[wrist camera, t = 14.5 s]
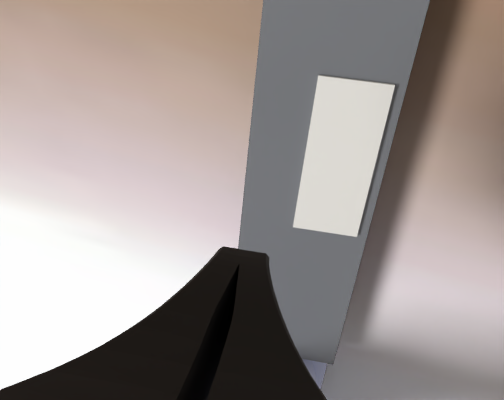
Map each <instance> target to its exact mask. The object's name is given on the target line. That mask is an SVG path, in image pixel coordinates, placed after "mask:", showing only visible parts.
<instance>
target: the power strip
mask: <svg viewBox="0 0 504 400" xmlns="http://www.w3.org/2000/svg"><path fill="white" fill-rule="evenodd" d="M429 2H430V0H263V9H262V19H261V29H260V39H259V49H258V58H257V68H256V78H255V88H254V98H253V108H252V118H251V127H250V137H249V147H248V157H247V167H246V177H245V187H244V196H243V206H242V216H241V226H240V236H239V246H238V249H242V250H248V251H254V252H261V253H266V254H267V255H268V256H269V267H270V274H271V279H272V284H273V288H274V292H275V295H276V298H277V302H278V305H279V308H280V311H281V314H282V316H283V319H284V321H285V324H286V326H287V329H288V331H289V334H290V336H291V338H292V340H293V342H294V345H295V347H296V349H297V351H298V353H299V354H300V356H301V358H302V359H305V360H311V361H317V362H322V363H328V364H333V363H334V359H335V356H336V352H337V348H338V344H339V340H340V337H341V333H342V329H343V325H344V322H345V318H346V314H347V310H348V307H349V303H350V299H351V295H352V292H353V288H354V284H355V280H356V276H357V273H358V269H359V265H360V261H361V258H362V254H363V250H364V246H365V243H366V239H367V235H368V231H369V228H370V224H371V220H372V216H373V212H374V209H375V205H376V201H377V197H378V194H379V190H380V186H381V182H382V179H383V175H384V171H385V167H386V164H387V160H388V156H389V152H390V148H391V145H392V141H393V137H394V133H395V130H396V126H397V122H398V118H399V115H400V111H401V107H402V103H403V100H404V96H405V92H406V88H407V84H408V81H409V77H410V73H411V69H412V66H413V62H414V58H415V54H416V51H417V47H418V43H419V39H420V36H421V32H422V28H423V24H424V20H425V17H426V13H427V9H428V5H429Z"/></svg>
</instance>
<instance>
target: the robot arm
mask: <svg viewBox="0 0 504 400" xmlns="http://www.w3.org/2000/svg"><path fill="white" fill-rule="evenodd" d="M326 367H327V363H322V362H317V361H311V360H305V359H302V358H301V356H300V354H299V353H298V351H297V349H296V347H295V345H294V342H293V340H292V338H291V336H290V334H289V331H288V329H287V326H286V324H285V321H284V319H283V316H282V314H281V311H280V308H279V305H278V302H277V298H276V295H275V292H274V288H273V284H272V279H271V274H270V267H269V256H268V255H267V254H266V253H261V252H254V251H248V250H242V249H235V248H229V247H222V248H220V249H219V250H218V251H217V252H216V254H215V255H214V256H213V257H212V258H211V259H210V261H209V262H208V263H207V264H206V265H205V266H204V267H203V268H202V269H201V270H200V271H199V272H198V273H197V274H196V275H195V276H194V277H193V278H192V279H191V280H190V281H189V282H188V283H187V284H186V285H185V286H184V287H183V288H182V289H180V290H179V291H178V292H177V293H176V294H175V295H173V296H172V297H171V298H170V299H169V300H168V301H166V302H165V303H164V304H163V305H162V306H160V307H159V308H158V309H156V310H155V311H154V312H152V313H151V314H150V315H148V316H147V317H146V318H144V319H143V320H141V321H140V322H138V323H137V324H136V325H134V326H133V327H131V328H129V329H128V330H126V331H125V332H123V333H121V334H120V335H118V336H117V337H115V338H113V339H112V340H110V341H108V342H107V343H105V344H103V345H101V346H100V347H98V348H96V349H94V350H92V351H90V352H88V353H86V354H84V355H82V356H80V357H78V358H76V359H74V360H72V361H69V362H67V363H65V364H63V365H61V366H59V367H56V368H54V369H52V370H50V371H47V372H45V373H42V374H39V375H37V376H34V377H32V378H29V379H27V380H24V381H22V382H19V383H17V384H14V385H12V386H9V387H6V388H4V389H1V390H0V400H327V399H326V398H325V396H324V395H323V393H322V392H321V386H322V383H323V379H324V375H325V371H326Z"/></svg>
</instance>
